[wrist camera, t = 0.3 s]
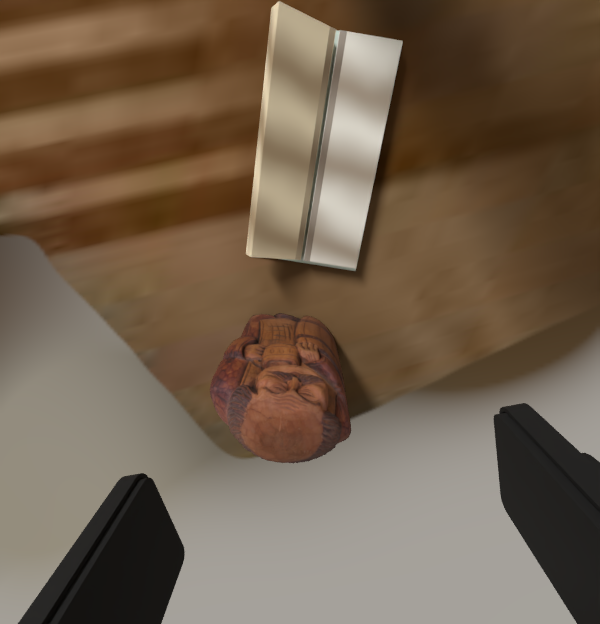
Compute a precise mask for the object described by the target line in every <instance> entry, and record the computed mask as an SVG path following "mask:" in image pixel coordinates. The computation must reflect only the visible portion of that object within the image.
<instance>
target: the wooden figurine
mask: <svg viewBox="0 0 600 624" xmlns="http://www.w3.org/2000/svg"><path fill="white" fill-rule="evenodd" d="M210 394H211V398H212V401H213V404H214V407H215V409H216V411H217V413H218V414H219V416H220V417H221V419H222V420H223V421H224V422H225V423H226V424H227V425H229V428H230V432H231V433H232V434H233V435H234V437H235V438H236V439H238V441H239V443H241V444H242V445H243V447H244V448H245V449H246V450H248V451H251V452H252V453H253V454H254V455H256V456H259V457H261V458H262V459H265V460H268V461H274V462H281V463H287V462H288V463H295V462H296V463H298V462H305V461H310V460H312V459H315V458H318V457H320V456H322V455H325V454H326V453H327V452H329V451H331V450H332V449H333V448H335V445H336V444H337V443H339V442H342V441H344V440H346V439H347V438H348V437H349V435H350V433H351V424H350V417H349V411H348V403H347V399H346V395H345V385H344V379H343V374H342V369H341V364H340V360H339V355H338V351H337V347H336V344H335V341H334V338H333V336H332V334H331V333H330V331H329V330H328V329H327V327H326V326H325V325H324V324H323V323H322V322H320V321H319V320H317V319H315V318H313V317H310V316H304V317H303V318H301V319H299V318H296V317H294V316H290V315H286V314H282V313H279V314H276V315H275V316H272V315H264V314H260V315H253V316H252V317H251V318H250V320H249V321H248V323H247V324H246V327H245V329H244V331H243V333H242V336H241V338H238V339H236V340H234V341H233V342H232V343H231V344H230V346H229V347H228V348H227V350H226V351H225V353H224V358H223V360H222V361H221V363H220V364H219V366H218V368H217V371H216V373H215V375H214V376H213V379H212V382H211V386H210Z"/></svg>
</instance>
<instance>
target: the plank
mask: <svg viewBox="0 0 600 624" xmlns="http://www.w3.org/2000/svg"><path fill="white" fill-rule="evenodd" d="M335 34H336V29H334V28H332V27H330V26H328V25H326V24H324V23H322V22H320V21H318V20H316V19H314V18H312V17H310V16H308V15H306V14H304V13H302V12H300V11H298V10H296V9H294V8H292V7H290V6H288V5H286V4H284V3H282V2H280V1H279V2H278V3H277V4H275V5H274V6H273V7H272V8H271V17H270V27H269V37H268V46H267V56H266V65H265V75H264V85H263V94H262V104H261V114H260V123H259V133H258V143H257V152H256V162H255V172H254V181H253V191H252V201H251V210H250V220H249V230H248V239H247V249H246V254H247V255H248V256H250V257H258V258H276V259H293V260H301V255H302V248H303V242H304V235H305V229H306V222H307V216H308V209H309V203H310V196H311V190H312V183H313V177H314V170H315V164H316V157H317V151H318V144H319V138H320V131H321V125H322V118H323V112H324V105H325V99H326V92H327V86H328V79H329V73H330V66H331V60H332V53H333V47H334V40H335Z"/></svg>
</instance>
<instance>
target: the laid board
mask: <svg viewBox="0 0 600 624" xmlns="http://www.w3.org/2000/svg"><path fill="white" fill-rule="evenodd" d="M402 42H403V41H401V40H395V39H389V38H383V37H377V36H371V35H365V34H359V33H353V32H348V31H342V30H340V31H339V37H338V44H337V50H336V56H335V63H334V69H333V75H332V82H331V88H330V95H329V101H328V107H327V114H326V120H325V126H324V133H323V139H322V146H321V152H320V158H319V165H318V171H317V178H316V184H315V190H314V197H313V203H312V209H311V216H310V222H309V229H308V235H307V241H306V248H305V254H304V261H311V262H317V263H323V264H330V265H336V266H342V267H348V268H355V269H356V265H357V260H358V256H359V251H360V246H361V241H362V236H363V231H364V226H365V222H366V217H367V212H368V207H369V202H370V197H371V192H372V188H373V183H374V178H375V173H376V168H377V163H378V158H379V154H380V149H381V144H382V139H383V134H384V129H385V124H386V120H387V115H388V110H389V105H390V100H391V95H392V90H393V86H394V81H395V76H396V71H397V66H398V61H399V57H400V52H401V47H402Z"/></svg>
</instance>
